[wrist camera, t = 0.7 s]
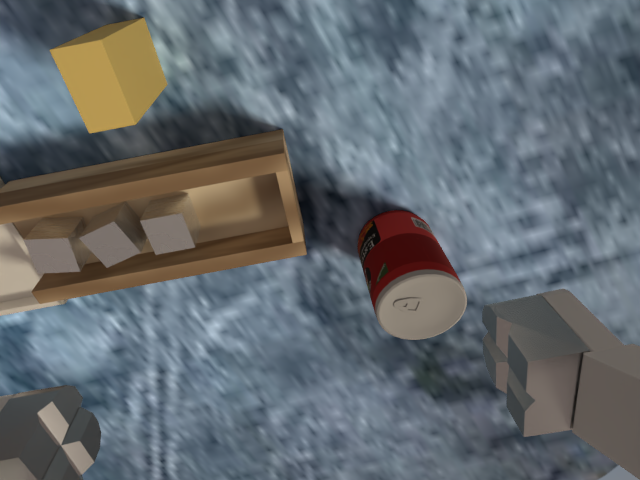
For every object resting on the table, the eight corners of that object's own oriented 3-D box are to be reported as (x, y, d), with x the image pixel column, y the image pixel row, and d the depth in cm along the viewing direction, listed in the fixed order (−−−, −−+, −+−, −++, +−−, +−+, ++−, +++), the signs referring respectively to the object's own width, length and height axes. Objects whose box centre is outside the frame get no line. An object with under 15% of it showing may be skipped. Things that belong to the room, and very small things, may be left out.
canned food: (354, 212, 44) (375, 280, 35) (431, 202, 44) (472, 268, 35) (357, 271, 49) (377, 346, 39) (428, 262, 49) (464, 334, 40)
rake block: (105, 25, 33) (49, 49, 25) (143, 17, 33) (100, 39, 25) (131, 91, 36) (89, 133, 28) (167, 84, 36) (135, 124, 28)
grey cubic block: (149, 200, 39) (139, 220, 36) (188, 193, 39) (181, 213, 36) (164, 233, 41) (155, 254, 38) (200, 226, 41) (195, 247, 38)
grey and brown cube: (42, 218, 39) (23, 239, 36) (83, 216, 39) (67, 238, 36) (54, 250, 41) (38, 273, 38) (93, 248, 41) (80, 271, 38)
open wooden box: (9, 181, 39) (-26, 211, 35) (282, 129, 39) (284, 153, 34) (63, 268, 45) (39, 304, 40) (303, 223, 44) (306, 254, 40)
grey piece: (93, 216, 39) (78, 238, 36) (125, 201, 39) (113, 221, 36) (118, 245, 41) (107, 267, 38) (150, 230, 40) (140, 252, 37)
